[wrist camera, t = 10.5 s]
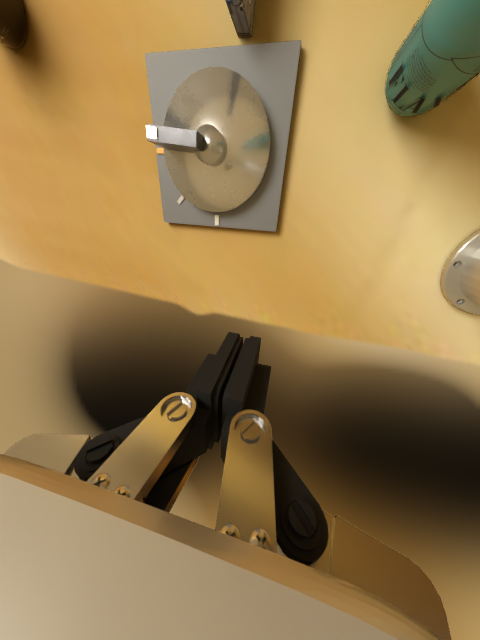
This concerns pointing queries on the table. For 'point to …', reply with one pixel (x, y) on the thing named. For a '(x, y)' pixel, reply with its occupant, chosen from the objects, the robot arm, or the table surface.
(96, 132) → the table surface
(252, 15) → the mini dv tape
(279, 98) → the dial plate
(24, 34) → the supplement bottle
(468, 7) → the beverage bottle
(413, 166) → the table surface
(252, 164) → the dial
